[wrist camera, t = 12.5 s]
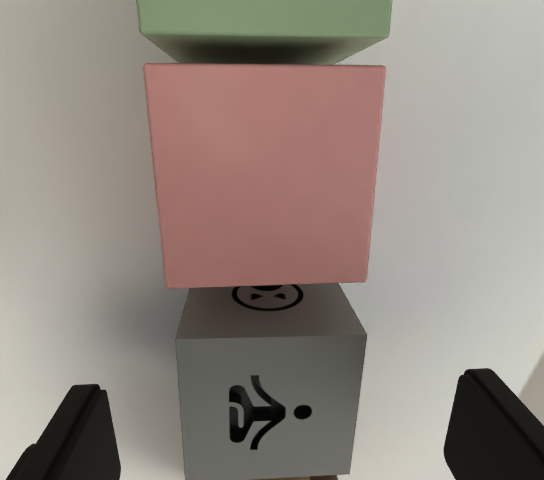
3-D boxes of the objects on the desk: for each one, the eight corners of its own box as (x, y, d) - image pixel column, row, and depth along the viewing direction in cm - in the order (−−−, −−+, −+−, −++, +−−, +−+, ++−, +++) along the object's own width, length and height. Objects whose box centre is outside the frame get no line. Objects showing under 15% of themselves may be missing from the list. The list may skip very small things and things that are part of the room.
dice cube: (196, 262, 14) (175, 339, 10) (326, 262, 15) (367, 334, 10) (201, 372, 16) (185, 483, 11) (318, 368, 16) (349, 474, 12)
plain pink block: (332, 78, 12) (388, 59, 8) (325, 225, 14) (367, 282, 9) (179, 77, 12) (140, 56, 7) (190, 228, 14) (164, 290, 9)
